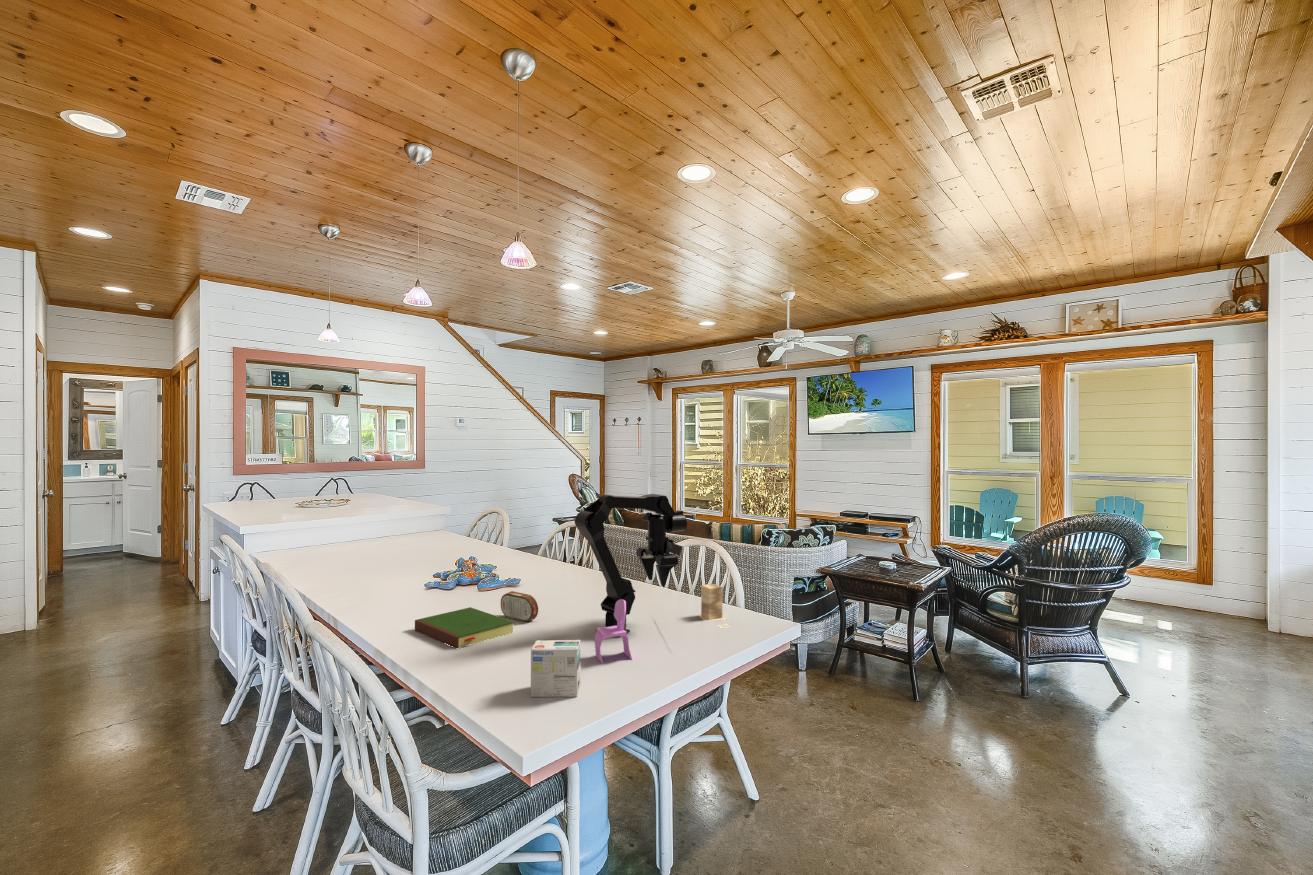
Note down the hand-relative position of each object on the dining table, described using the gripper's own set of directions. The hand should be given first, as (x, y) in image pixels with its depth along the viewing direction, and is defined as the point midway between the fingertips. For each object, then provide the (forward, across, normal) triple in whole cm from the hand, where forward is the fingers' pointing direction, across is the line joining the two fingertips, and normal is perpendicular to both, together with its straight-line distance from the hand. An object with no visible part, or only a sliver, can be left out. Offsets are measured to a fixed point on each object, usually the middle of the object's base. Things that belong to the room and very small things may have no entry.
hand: (656, 582), depth 179 cm
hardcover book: (+14, +18, +56) cm, 60 cm away
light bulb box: (+13, -35, +43) cm, 57 cm away
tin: (+13, +24, +38) cm, 47 cm away
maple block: (+12, -3, -19) cm, 23 cm away
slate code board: (+13, -8, -18) cm, 23 cm away
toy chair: (+13, -21, +23) cm, 34 cm away
